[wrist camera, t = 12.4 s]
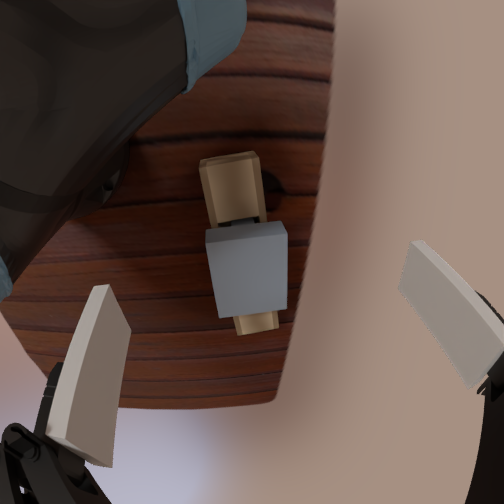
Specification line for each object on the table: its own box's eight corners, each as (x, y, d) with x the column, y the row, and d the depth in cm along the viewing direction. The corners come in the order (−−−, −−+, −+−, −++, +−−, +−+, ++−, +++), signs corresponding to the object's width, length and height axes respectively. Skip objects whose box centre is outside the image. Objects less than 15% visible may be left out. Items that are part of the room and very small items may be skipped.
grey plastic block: (217, 282, 38) (219, 318, 32) (206, 214, 32) (205, 243, 26) (275, 274, 38) (286, 308, 32) (273, 206, 33) (287, 233, 27)
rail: (235, 316, 42) (237, 335, 39) (200, 160, 29) (198, 168, 26) (273, 309, 42) (278, 327, 39) (253, 150, 30) (258, 157, 26)
